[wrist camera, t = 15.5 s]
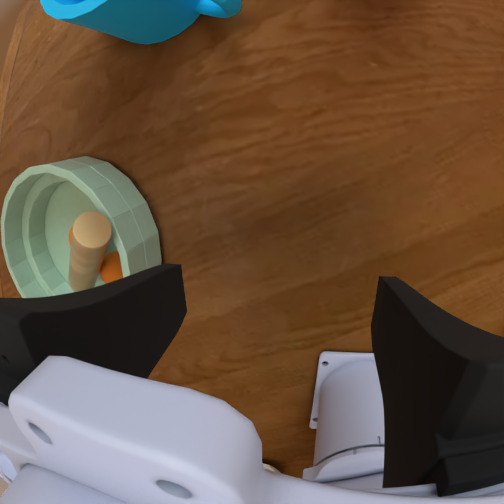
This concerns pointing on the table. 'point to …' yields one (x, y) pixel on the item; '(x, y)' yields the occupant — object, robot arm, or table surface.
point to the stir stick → (88, 249)
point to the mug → (139, 16)
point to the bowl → (72, 222)
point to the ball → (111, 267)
